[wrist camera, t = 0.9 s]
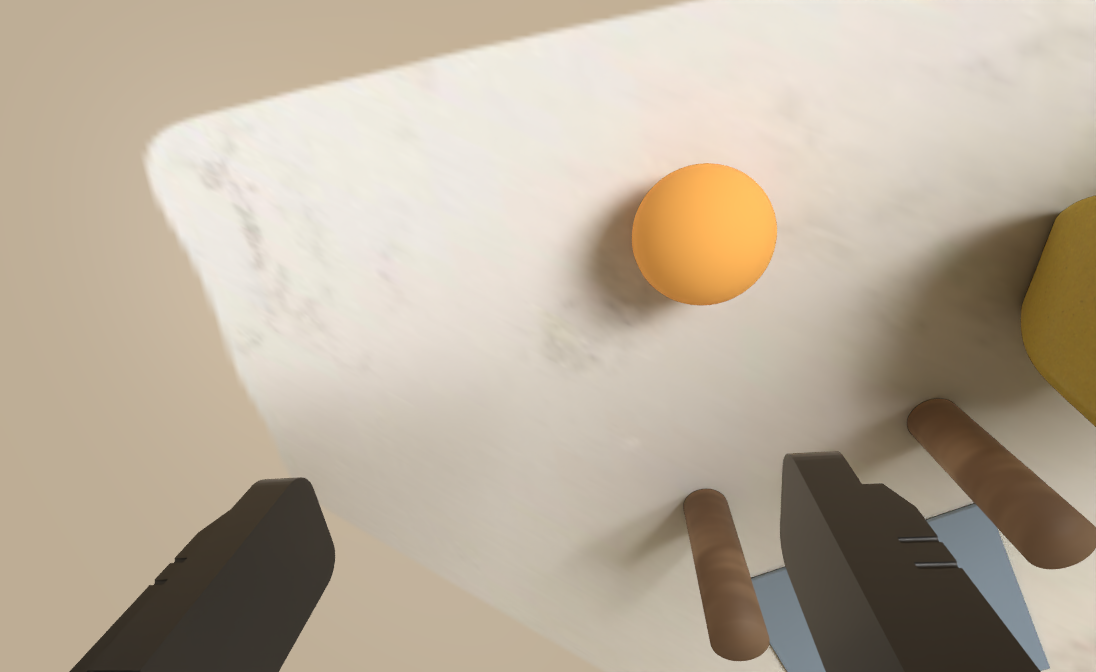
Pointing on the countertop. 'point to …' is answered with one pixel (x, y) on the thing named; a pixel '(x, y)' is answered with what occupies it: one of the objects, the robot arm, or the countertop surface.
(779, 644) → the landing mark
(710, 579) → the outer post
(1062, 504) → the inner post
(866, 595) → the robot arm
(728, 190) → the ball
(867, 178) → the countertop surface
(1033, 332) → the flower pot
